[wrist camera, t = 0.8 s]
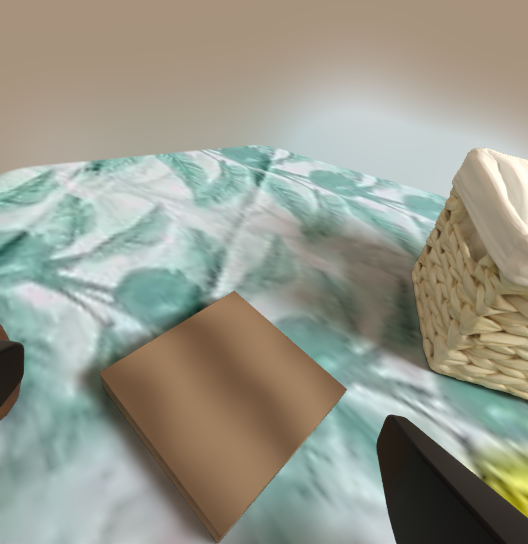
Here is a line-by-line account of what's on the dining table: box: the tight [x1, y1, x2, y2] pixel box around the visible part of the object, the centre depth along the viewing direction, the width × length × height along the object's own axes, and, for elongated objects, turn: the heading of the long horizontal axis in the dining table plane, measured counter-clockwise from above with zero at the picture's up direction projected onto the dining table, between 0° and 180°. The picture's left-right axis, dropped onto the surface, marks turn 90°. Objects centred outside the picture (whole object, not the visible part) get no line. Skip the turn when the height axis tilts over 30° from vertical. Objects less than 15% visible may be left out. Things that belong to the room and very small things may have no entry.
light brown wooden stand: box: [99, 291, 347, 543], centre depth 24 cm, size 12×12×2 cm
